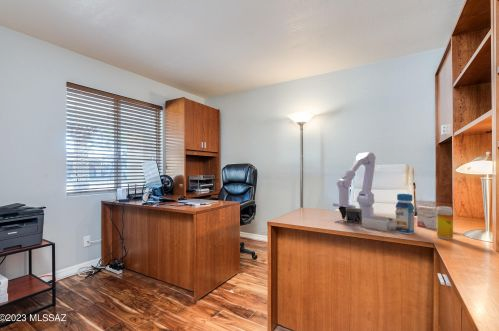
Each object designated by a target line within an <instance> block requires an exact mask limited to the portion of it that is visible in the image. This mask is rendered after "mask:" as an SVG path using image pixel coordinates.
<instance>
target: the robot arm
mask: <svg viewBox="0 0 499 331" xmlns="http://www.w3.org/2000/svg"><path fill="white" fill-rule="evenodd" d="M375 163H376V155H375V154H374V153H373V152H370V151H369V152H360V153H358V154H357V155H356V156H355V161H354V162H353V164H352V165H351V167H350V169H347V170H346V171H345V173H344V175H342V176H341V178H339V179H337V182H336V185H337V188H338V202H337V203H336V202H333V203H332V207H338V210H339V212H340V215H341V218H342V219H341V220H344V219H346V207H350V208H352V209H354V208H357V206H356V205H353V204H350V202H349V199H350V198H349V194H350V193H349V190H350V189H349V188H350V187H351V185H352V181H353V179H354V178H355V177H356V172H357V171H358V170H359V168H360V167H361V166H363V167H364V168H365V170H364V176H363V182H362V188H361V191H358V195H357V197H356V202H357V203H358V205H359V208H361V209H362V218H367V219H372V215H374V213H375V212H374V210H375V209H374V207H373V205H374V203H375V193H373V192H372V188H373V187H372V186H373V181H374V173H375V166H376V165H375Z"/></svg>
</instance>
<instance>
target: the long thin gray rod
mask: <svg viewBox="0 0 499 331" xmlns="http://www.w3.org/2000/svg"><path fill="white" fill-rule="evenodd" d="M342 221H347V220H346V218H345V219H341V220H336V221H334V223H335V224H336V223H339V222H342Z"/></svg>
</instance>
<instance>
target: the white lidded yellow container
mask: <svg viewBox="0 0 499 331" xmlns="http://www.w3.org/2000/svg"><path fill="white" fill-rule="evenodd" d="M453 215H454V210H453V208H452V206H445V205H441V206H440V205H439V206H436V237H438V239H440V240H447V241H448V240H452V239H454V216H453Z"/></svg>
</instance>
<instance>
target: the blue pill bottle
mask: <svg viewBox="0 0 499 331" xmlns="http://www.w3.org/2000/svg"><path fill="white" fill-rule="evenodd" d="M396 200H397V203H396V204H395V208H396V209H395V211H394V212H395V213H394V214H395V218H396V228H395V232H397V233H399V234H403V235H413V234H414V233H415V211H414V210H415V206H414V204H413V203H412V201H413V195H412V194H409V193H397V195H396Z"/></svg>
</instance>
